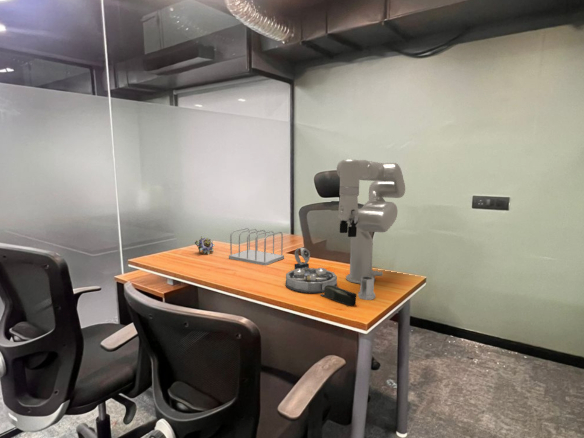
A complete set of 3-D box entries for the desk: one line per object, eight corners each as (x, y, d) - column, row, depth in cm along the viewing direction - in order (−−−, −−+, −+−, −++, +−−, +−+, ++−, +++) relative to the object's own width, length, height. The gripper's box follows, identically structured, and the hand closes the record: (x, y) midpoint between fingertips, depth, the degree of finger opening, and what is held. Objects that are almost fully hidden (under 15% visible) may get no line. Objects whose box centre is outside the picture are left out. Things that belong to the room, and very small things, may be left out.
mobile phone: (357, 292, 124) (324, 282, 135) (352, 294, 122) (319, 284, 132) (356, 305, 125) (324, 294, 135) (352, 308, 123) (319, 296, 133)
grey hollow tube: (371, 293, 136) (372, 275, 135) (376, 299, 130) (377, 280, 129) (356, 294, 136) (357, 275, 135) (361, 300, 130) (362, 280, 129)
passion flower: (208, 263, 200) (201, 249, 192) (194, 257, 205) (187, 244, 197) (220, 249, 207) (214, 235, 199) (206, 244, 212) (200, 230, 204)
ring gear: (330, 274, 158) (330, 267, 158) (341, 289, 137) (341, 282, 137) (284, 275, 156) (284, 268, 155) (288, 291, 135) (288, 283, 135)
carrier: (330, 276, 159) (330, 263, 158) (342, 292, 137) (342, 277, 136) (283, 277, 156) (283, 264, 155) (287, 294, 135) (288, 279, 134)
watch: (304, 273, 164) (304, 250, 162) (291, 269, 169) (292, 247, 168) (311, 270, 168) (312, 248, 166) (299, 267, 173) (299, 245, 172)
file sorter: (228, 259, 190) (228, 230, 188) (248, 252, 204) (248, 226, 202) (265, 265, 176) (265, 235, 174) (284, 258, 191) (284, 230, 189)
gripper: (333, 190, 143) (332, 231, 145) (347, 192, 126) (346, 238, 128) (350, 190, 145) (349, 231, 147) (367, 192, 128) (365, 238, 130)
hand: (347, 234), depth 138 cm, fingers open, 9 cm apart
